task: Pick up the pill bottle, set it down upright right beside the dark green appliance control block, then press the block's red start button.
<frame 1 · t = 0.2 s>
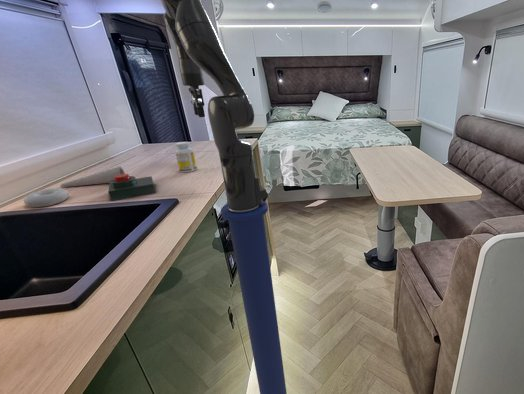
hand: (200, 115, 116), 22 cm above the worktop, tool pointing down, fingers open, 8 cm apart
donut: (49, 202, 91), on the worktop
start button: (122, 178, 96), point 5 cm above the worktop, slide at 0.1 cm
control block: (134, 192, 99), on the worktop
long tapered cone: (93, 185, 105), on the worktop
pill bottle: (188, 170, 122), on the worktop
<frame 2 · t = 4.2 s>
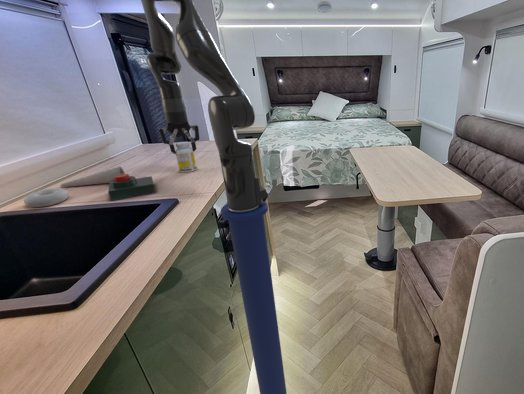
hand: (184, 152, 119), 8 cm above the worktop, tool pointing down, fingers closed on pill bottle, 6 cm apart
pill bottle: (188, 170, 122), on the worktop, touching gripper
everything else where it was.
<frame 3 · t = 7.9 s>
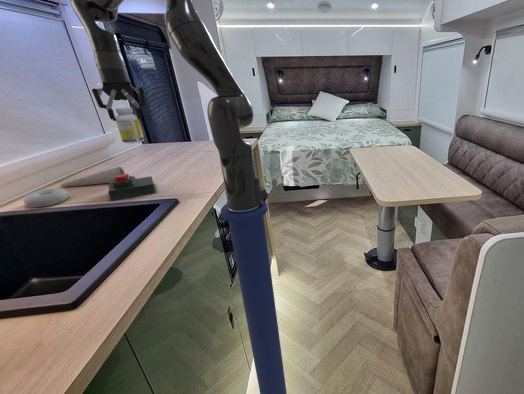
hand: (127, 119, 101), 23 cm above the worktop, tool pointing down, fingers closed on pill bottle, 6 cm apart
pill bottle: (134, 142, 104), point 15 cm above the worktop, touching gripper
everything else where it was.
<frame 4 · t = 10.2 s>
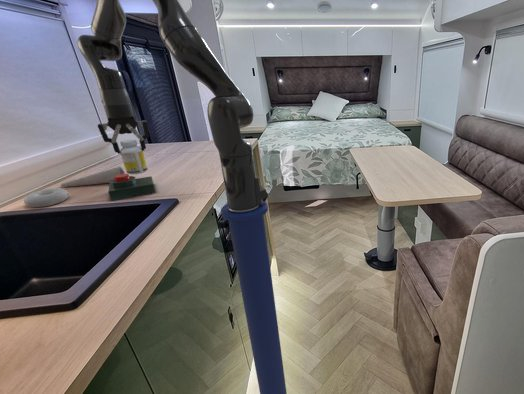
hand: (131, 151, 104), 12 cm above the worktop, tool pointing down, fingers closed on pill bottle, 6 cm apart
pill bottle: (137, 172, 107), point 4 cm above the worktop, touching gripper
everything else where it was.
when the fingers open (8 cm above the worktop, at t = 11.8 s): pill bottle stays where it is, on the worktop.
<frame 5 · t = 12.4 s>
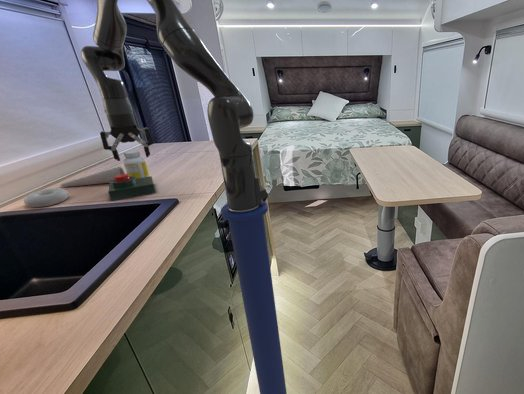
hand: (133, 158, 105), 9 cm above the worktop, tool pointing down, fingers open, 8 cm apart
pill bottle: (140, 182, 108), on the worktop
everything else where it was.
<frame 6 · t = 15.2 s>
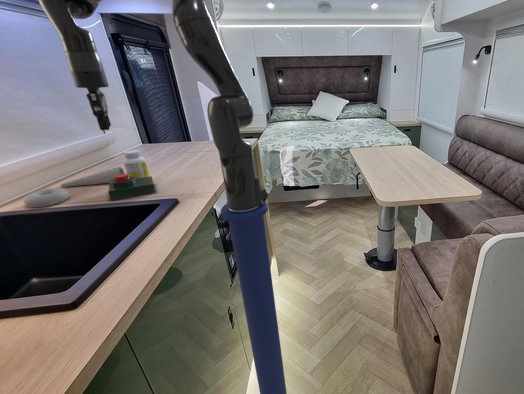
hand: (106, 128, 89), 22 cm above the worktop, tool pointing down, fingers open, 7 cm apart
nothing on the worktop moved.
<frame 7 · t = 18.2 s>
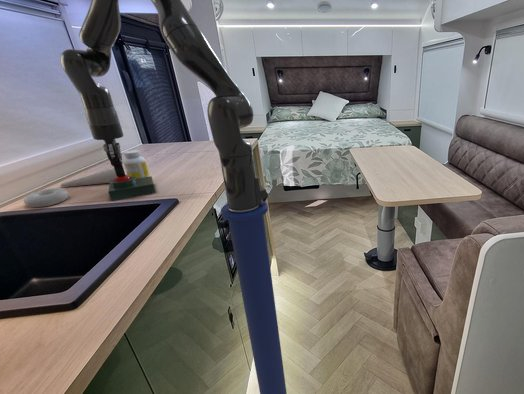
hand: (121, 176, 95), 6 cm above the worktop, tool pointing down, fingers closed
start button: (122, 178, 96), point 5 cm above the worktop, slide at -0.2 cm, touching gripper
everything else where it was.
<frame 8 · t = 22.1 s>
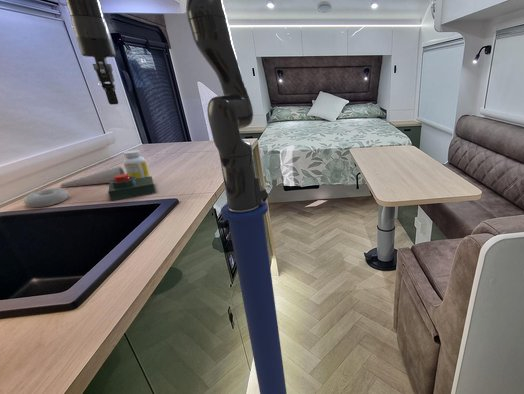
hand: (114, 104, 85), 29 cm above the worktop, tool pointing down, fingers closed
start button: (122, 178, 96), point 5 cm above the worktop, slide at 0.1 cm
everything else where it was.
at the end: pill bottle inside the target area on the worktop beside the control block (0.1 cm from its centre), on the worktop; pill bottle tilted 0°; start button pushed in 1.1 cm at the most during the clip, back to where it started at the end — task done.
